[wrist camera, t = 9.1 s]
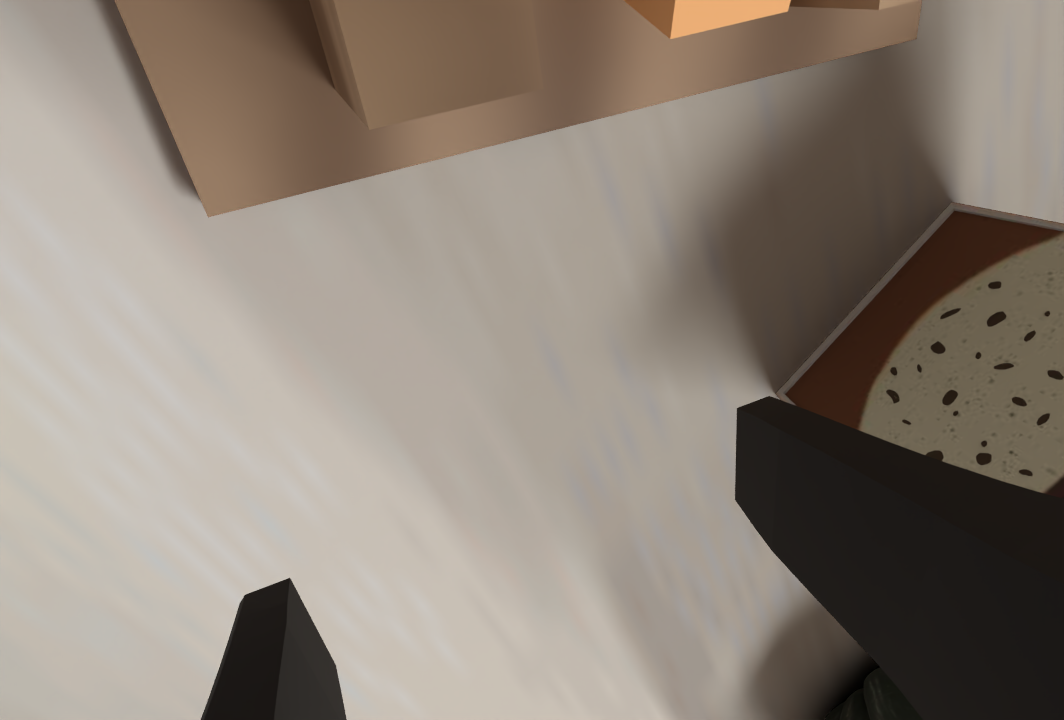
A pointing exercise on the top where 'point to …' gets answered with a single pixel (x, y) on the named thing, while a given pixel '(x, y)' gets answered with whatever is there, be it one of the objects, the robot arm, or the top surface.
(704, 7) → the orange step-cut beam
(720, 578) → the top surface
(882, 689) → the squash
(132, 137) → the top surface
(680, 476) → the top surface
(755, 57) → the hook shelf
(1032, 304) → the food container
